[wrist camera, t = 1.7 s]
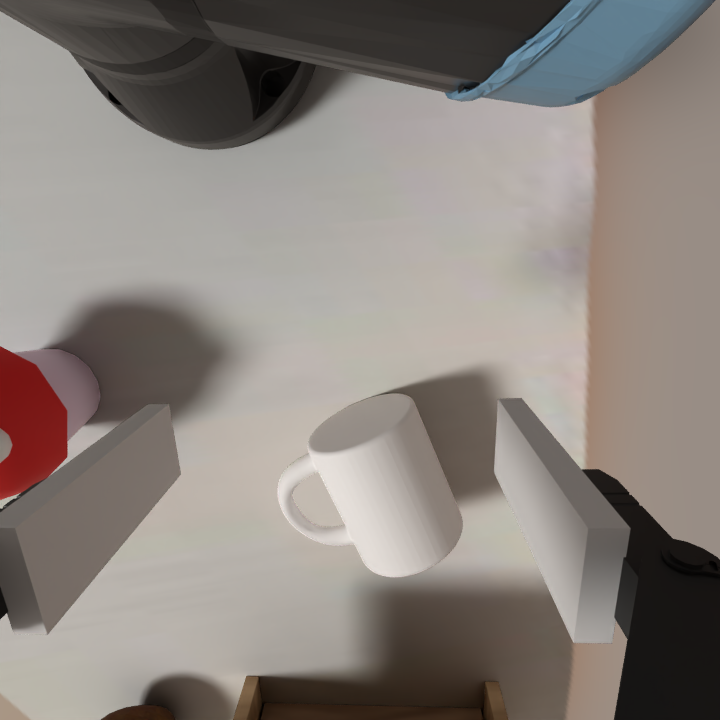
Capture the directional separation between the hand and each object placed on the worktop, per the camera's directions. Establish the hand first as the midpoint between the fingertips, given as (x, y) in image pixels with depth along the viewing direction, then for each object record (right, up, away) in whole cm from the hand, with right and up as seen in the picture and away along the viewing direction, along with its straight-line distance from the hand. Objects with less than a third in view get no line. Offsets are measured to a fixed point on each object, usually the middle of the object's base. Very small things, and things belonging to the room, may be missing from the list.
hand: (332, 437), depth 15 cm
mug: (+1, -6, +21) cm, 21 cm away
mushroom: (-23, +1, +20) cm, 30 cm away
